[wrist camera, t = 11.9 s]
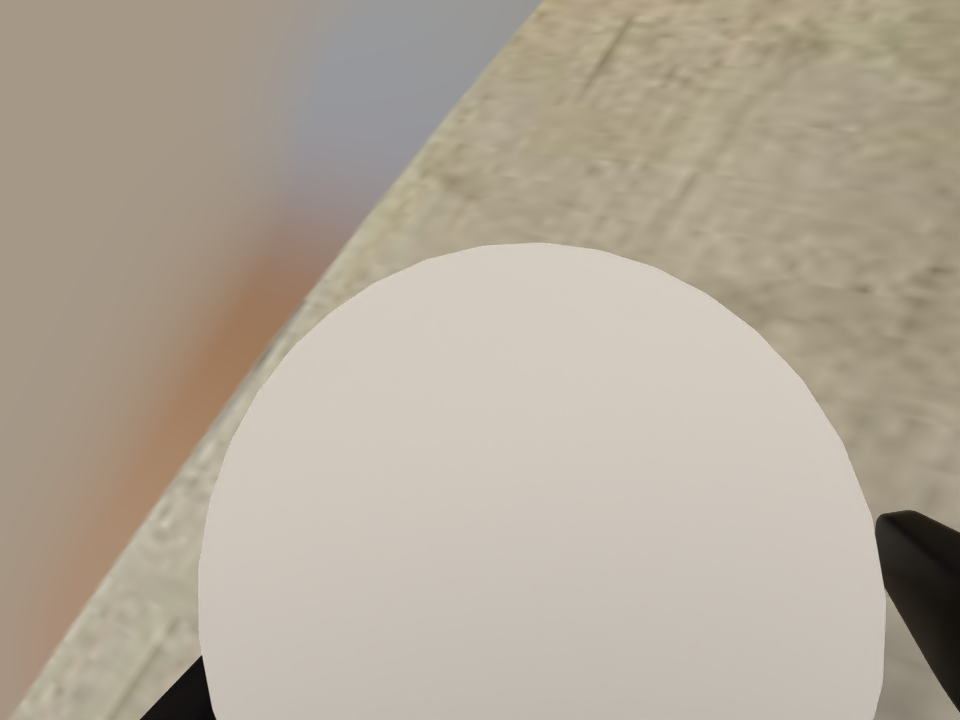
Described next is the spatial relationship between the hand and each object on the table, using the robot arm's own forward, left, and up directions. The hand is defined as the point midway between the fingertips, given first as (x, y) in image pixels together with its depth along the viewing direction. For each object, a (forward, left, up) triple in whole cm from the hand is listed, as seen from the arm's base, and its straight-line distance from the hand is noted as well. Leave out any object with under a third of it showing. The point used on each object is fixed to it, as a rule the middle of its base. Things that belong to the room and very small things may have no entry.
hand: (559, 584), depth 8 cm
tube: (+1, 0, -10) cm, 10 cm away
